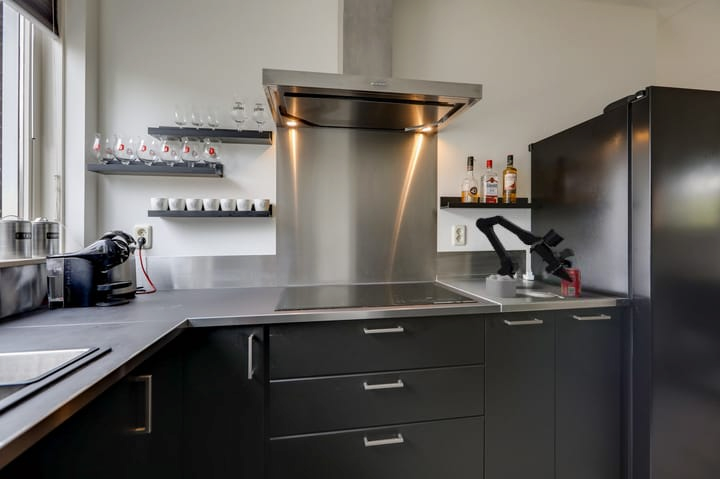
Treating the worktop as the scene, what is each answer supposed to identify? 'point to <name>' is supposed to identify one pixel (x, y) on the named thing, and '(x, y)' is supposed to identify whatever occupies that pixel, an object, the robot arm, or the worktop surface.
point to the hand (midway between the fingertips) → (574, 281)
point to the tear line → (557, 295)
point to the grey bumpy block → (500, 286)
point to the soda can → (572, 283)
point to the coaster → (540, 294)
